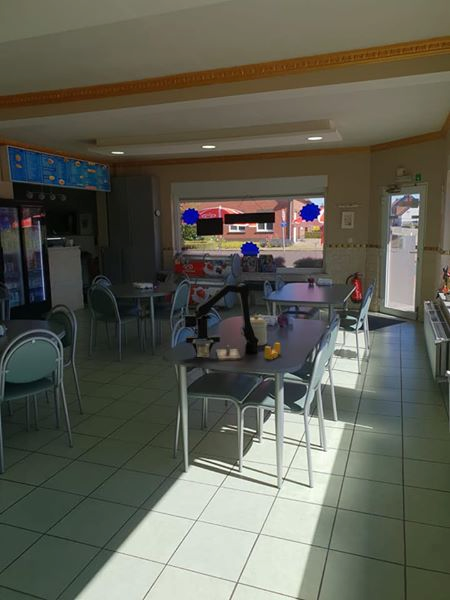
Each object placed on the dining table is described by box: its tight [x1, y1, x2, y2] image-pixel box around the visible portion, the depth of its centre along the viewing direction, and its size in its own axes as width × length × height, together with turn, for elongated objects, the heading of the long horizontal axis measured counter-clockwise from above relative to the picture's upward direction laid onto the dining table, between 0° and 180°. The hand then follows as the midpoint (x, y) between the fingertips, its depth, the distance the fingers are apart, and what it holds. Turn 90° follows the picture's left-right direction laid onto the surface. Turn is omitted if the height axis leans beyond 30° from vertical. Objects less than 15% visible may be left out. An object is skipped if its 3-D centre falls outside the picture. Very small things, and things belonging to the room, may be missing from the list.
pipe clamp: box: [264, 342, 281, 360], centre depth 258 cm, size 12×4×6 cm, turn 143°
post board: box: [215, 345, 242, 361], centre depth 260 cm, size 12×18×6 cm, turn 6°
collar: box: [196, 343, 210, 358], centre depth 259 cm, size 6×6×6 cm
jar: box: [250, 314, 268, 347], centre depth 285 cm, size 13×13×18 cm
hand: (202, 354), depth 260 cm, fingers closed on collar, 6 cm apart
